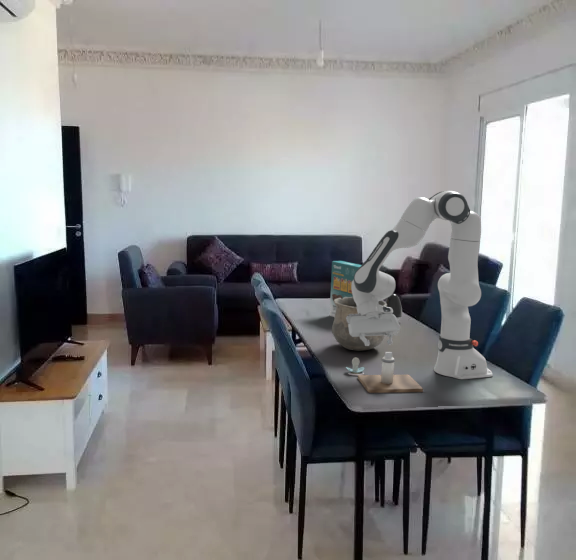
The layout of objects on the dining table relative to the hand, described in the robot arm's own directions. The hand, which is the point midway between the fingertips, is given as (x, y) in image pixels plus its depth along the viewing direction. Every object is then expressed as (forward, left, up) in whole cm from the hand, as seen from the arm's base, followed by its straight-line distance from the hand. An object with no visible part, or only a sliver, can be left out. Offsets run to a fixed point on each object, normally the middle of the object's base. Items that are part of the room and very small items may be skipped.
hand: (379, 344), depth 235 cm
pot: (-2, -40, -13) cm, 43 cm away
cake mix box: (-10, -96, -13) cm, 98 cm away
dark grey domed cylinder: (-33, -90, -13) cm, 97 cm away
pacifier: (+7, -6, -14) cm, 16 cm away
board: (-2, +8, -13) cm, 15 cm away
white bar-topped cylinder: (-1, +8, -12) cm, 14 cm away
